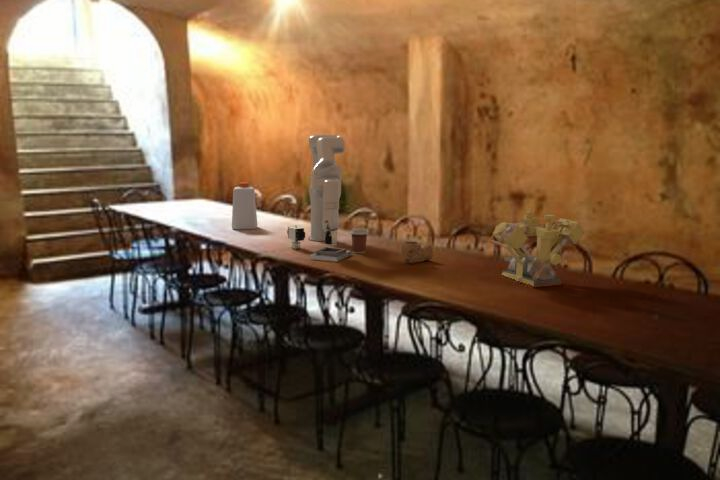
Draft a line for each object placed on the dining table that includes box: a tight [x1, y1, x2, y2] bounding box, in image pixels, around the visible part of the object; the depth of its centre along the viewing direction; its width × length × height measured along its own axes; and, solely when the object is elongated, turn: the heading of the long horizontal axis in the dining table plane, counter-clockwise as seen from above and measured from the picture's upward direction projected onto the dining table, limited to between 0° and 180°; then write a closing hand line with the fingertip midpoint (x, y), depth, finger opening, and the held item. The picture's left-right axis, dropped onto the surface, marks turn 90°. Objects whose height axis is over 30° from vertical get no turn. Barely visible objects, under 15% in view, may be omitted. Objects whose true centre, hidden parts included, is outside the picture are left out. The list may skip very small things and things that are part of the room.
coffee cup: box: [349, 227, 369, 254], centre depth 309 cm, size 9×9×12 cm
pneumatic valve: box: [286, 224, 306, 250], centre depth 317 cm, size 6×12×12 cm, turn 33°
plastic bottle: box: [231, 181, 258, 231], centre depth 376 cm, size 15×15×28 cm
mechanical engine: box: [488, 207, 586, 286], centre depth 252 cm, size 39×37×30 cm
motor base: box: [309, 246, 352, 263], centre depth 297 cm, size 18×14×4 cm
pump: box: [324, 228, 338, 247], centre depth 295 cm, size 6×6×8 cm
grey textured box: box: [401, 240, 434, 264], centre depth 287 cm, size 9×16×10 cm, turn 132°
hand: (331, 242), depth 296 cm, fingers closed on pump, 5 cm apart
